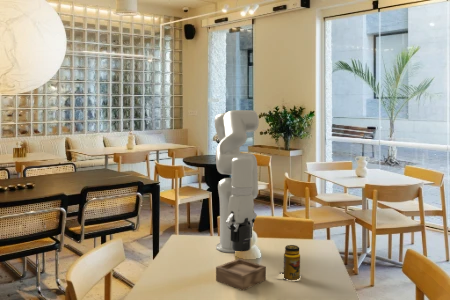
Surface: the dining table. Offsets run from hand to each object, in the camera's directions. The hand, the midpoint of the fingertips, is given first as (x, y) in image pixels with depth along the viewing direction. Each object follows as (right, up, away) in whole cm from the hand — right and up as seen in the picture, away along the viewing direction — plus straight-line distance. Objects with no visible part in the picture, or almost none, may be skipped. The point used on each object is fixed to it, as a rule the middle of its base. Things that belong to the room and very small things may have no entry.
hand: (241, 239), depth 179 cm
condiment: (+18, -16, +6) cm, 25 cm away
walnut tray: (0, -16, +2) cm, 16 cm away
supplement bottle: (0, -4, 0) cm, 4 cm away
